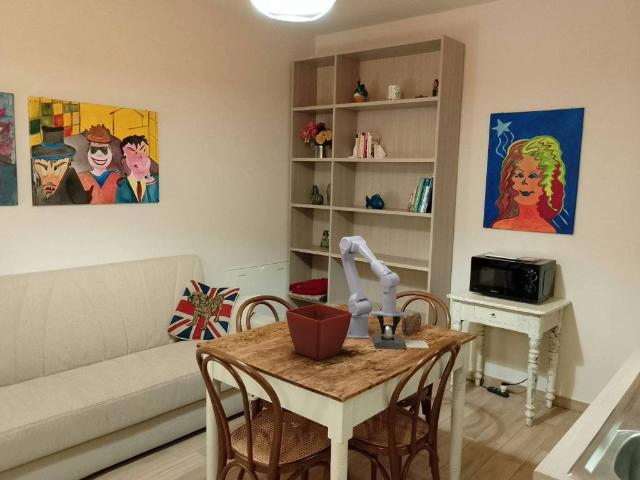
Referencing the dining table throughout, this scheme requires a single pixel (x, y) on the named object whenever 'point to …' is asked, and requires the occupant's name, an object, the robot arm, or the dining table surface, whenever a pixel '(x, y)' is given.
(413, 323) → the tin
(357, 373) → the dining table surface
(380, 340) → the housing
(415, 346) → the mat
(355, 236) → the robot arm
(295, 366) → the dining table surface
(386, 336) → the silver metal cylinder
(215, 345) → the dining table surface
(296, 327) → the plant pot
